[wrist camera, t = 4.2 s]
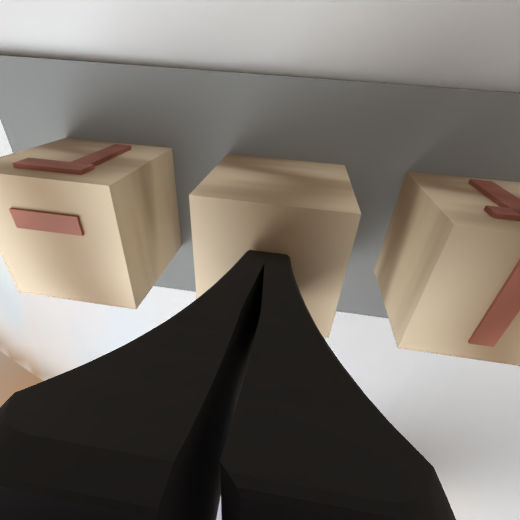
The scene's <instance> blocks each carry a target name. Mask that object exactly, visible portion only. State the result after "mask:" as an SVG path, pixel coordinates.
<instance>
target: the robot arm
mask: <svg viewBox="0 0 520 520" xmlns="http://www.w3.org/2000/svg"><path fill="white" fill-rule="evenodd" d="M0 520H456V519H455V516H454V514H453V511H452V509H451V507H450V504H449V502H448V499H447V497H446V495H445V492H444V490H443V488H442V485H441V483H440V481H439V478H438V476H437V474H436V471H435V469H434V467H433V466H432V465H431V464H430V463H429V462H428V461H427V460H426V459H425V458H424V457H423V456H422V455H421V454H420V453H419V452H418V451H417V450H416V449H415V448H414V447H413V446H412V445H411V444H410V443H409V442H408V441H407V440H406V439H405V438H404V437H403V436H402V435H401V434H400V433H399V432H398V431H397V430H396V429H395V428H394V426H393V425H392V424H391V423H390V422H389V421H388V420H387V419H386V418H385V417H384V416H383V414H382V413H381V412H380V411H379V410H378V409H377V408H376V406H375V405H374V404H373V403H372V402H371V401H370V400H369V398H368V397H367V396H366V395H365V394H364V392H363V391H362V390H361V389H360V387H359V386H358V385H357V383H356V382H355V381H354V380H353V378H352V377H351V376H350V375H349V373H348V372H347V371H346V369H345V368H344V367H343V366H342V364H341V363H340V362H339V360H338V359H337V357H336V356H335V354H334V353H333V351H332V350H331V348H330V347H329V346H328V344H327V342H326V341H325V339H324V338H323V336H322V334H321V333H320V331H319V329H318V328H317V326H316V324H315V322H314V320H313V319H312V317H311V315H310V313H309V311H308V309H307V307H306V305H305V302H304V300H303V298H302V295H301V293H300V291H299V288H298V286H297V283H296V280H295V277H294V274H293V271H292V267H291V261H290V257H289V256H288V255H287V254H279V253H271V252H263V251H255V250H248V251H247V252H246V253H245V254H244V255H243V256H242V257H241V258H240V259H239V260H238V262H237V263H236V264H235V265H234V266H233V267H232V268H231V269H230V270H229V271H228V272H227V273H226V274H225V275H224V276H223V277H222V278H220V279H219V280H218V281H217V282H216V283H215V284H214V285H213V286H212V287H211V288H209V289H208V290H207V291H206V292H205V293H203V294H202V295H201V296H200V297H199V298H197V299H196V300H195V301H194V302H192V303H191V304H190V305H189V306H187V307H186V308H184V309H183V310H182V311H180V312H179V313H177V314H176V315H175V316H173V317H172V318H170V319H169V320H167V321H166V322H164V323H162V324H161V325H159V326H157V327H156V328H154V329H152V330H151V331H149V332H147V333H145V334H144V335H142V336H140V337H138V338H137V339H135V340H133V341H131V342H130V343H128V344H126V345H124V346H122V347H120V348H118V349H116V350H114V351H112V352H110V353H108V354H106V355H103V356H101V357H99V358H97V359H95V360H93V361H91V362H89V363H86V364H84V365H82V366H80V367H77V368H75V369H73V370H70V371H68V372H65V373H63V374H60V375H58V376H55V377H53V378H51V379H48V380H46V381H43V382H41V383H39V384H36V385H33V386H31V387H28V388H26V389H23V390H21V391H18V392H15V393H14V394H13V395H12V396H11V397H10V398H9V399H8V400H7V401H6V402H5V403H4V404H3V405H2V406H1V407H0Z"/></svg>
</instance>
